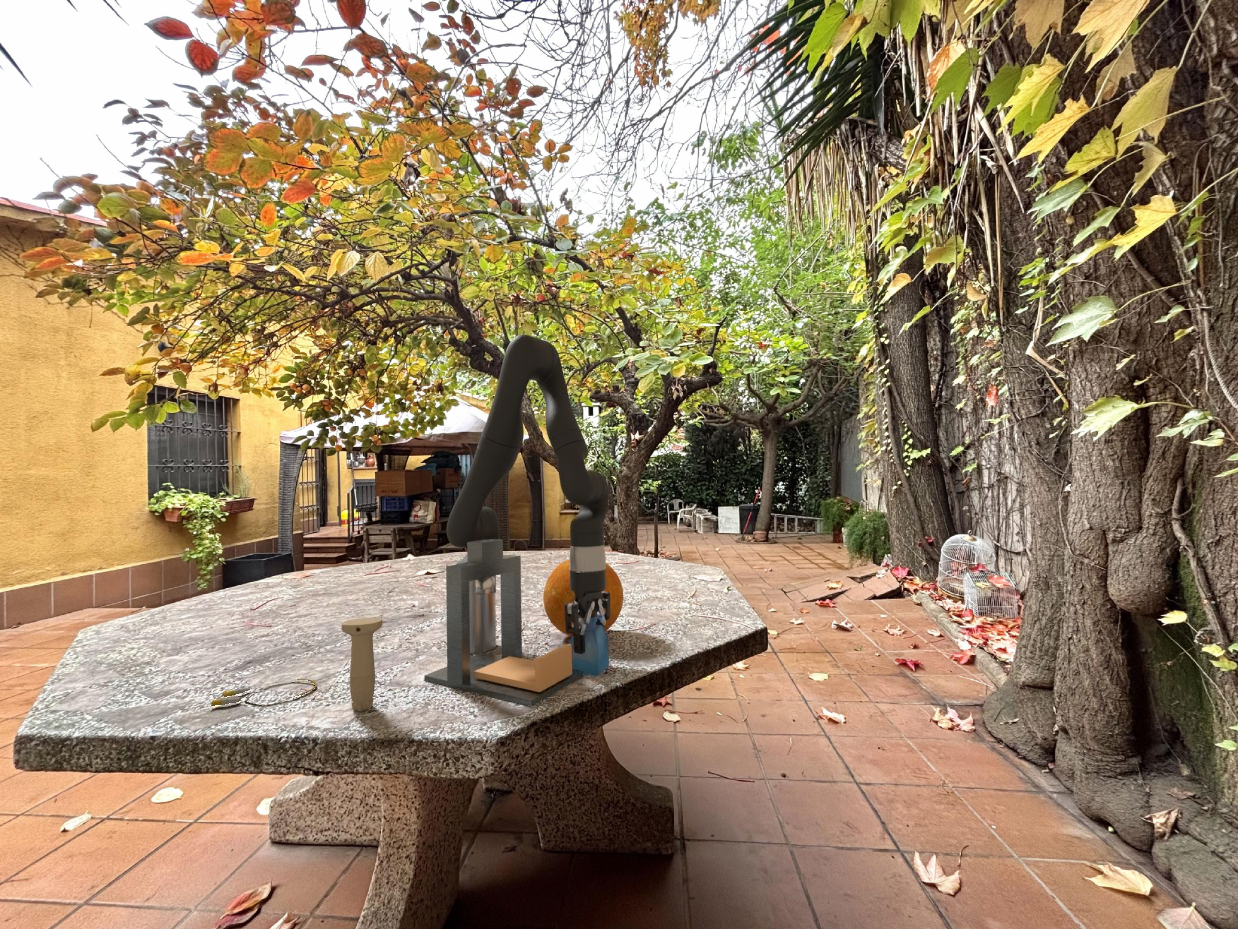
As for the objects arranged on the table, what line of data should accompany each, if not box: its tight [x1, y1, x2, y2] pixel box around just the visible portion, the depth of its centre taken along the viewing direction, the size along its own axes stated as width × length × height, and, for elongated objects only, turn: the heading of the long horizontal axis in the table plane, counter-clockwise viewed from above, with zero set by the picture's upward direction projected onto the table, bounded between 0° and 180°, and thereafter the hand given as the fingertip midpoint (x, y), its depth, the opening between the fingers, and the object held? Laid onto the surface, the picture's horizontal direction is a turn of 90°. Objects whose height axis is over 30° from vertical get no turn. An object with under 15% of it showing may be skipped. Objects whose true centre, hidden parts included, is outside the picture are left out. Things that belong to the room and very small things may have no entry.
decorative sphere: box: [542, 558, 624, 638], centre depth 133 cm, size 20×20×20 cm
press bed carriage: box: [474, 643, 572, 692], centre depth 103 cm, size 16×10×6 cm, turn 60°
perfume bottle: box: [568, 610, 610, 677], centre depth 110 cm, size 6×6×12 cm
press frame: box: [423, 539, 584, 707], centre depth 106 cm, size 27×17×27 cm, turn 60°
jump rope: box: [210, 678, 318, 707], centre depth 100 cm, size 12×16×2 cm
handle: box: [341, 617, 383, 712], centre depth 93 cm, size 5×6×15 cm
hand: (589, 647), depth 110 cm, fingers closed on perfume bottle, 7 cm apart
